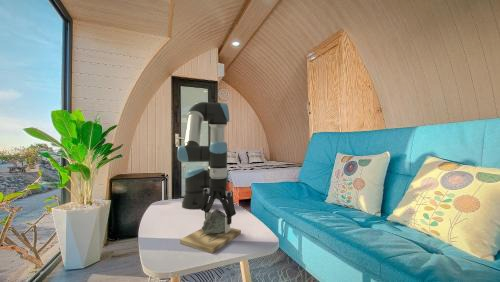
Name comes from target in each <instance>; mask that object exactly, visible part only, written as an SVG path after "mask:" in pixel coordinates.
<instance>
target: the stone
mask: <svg viewBox="0 0 500 282" xmlns="http://www.w3.org/2000/svg"><path fill="white" fill-rule="evenodd" d="M225 217H226V213H225V212H224V211H221V209H219V208H217V209H215V210H213V211H211V213H210V214H209V215H208V216H207V217H206V219H205V218H204V221H203V226H201V229H202V230H203V232H205V233H206V234H210V233H221V232H224V231H225Z"/></svg>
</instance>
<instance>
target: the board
mask: <svg viewBox="0 0 500 282" xmlns="http://www.w3.org/2000/svg"><path fill="white" fill-rule="evenodd" d="M240 233H242V230H241V229H238V228H234V227H230V231H229V232H227V233H225V231H224V232H221V233H210V234H206V233H205V232H203V230H202V228H200V229H198V230H196V231H194V232H192V233H189V234H188V235H186V236H184V237H182V238H180V239H179V244H180V243H181V244H180V245H183V246H186V247H190V248H194V249H197V250H200V251H203V252H206V253H209V254H213V253H215V252H217V251H218V250H219V249H221V248H222V247H224V246H225V245H226V244H228V243H230V242H231V241H232V240H233V239H235V238H236V237H238V236H239V235H241V234H240Z"/></svg>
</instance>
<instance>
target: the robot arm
mask: <svg viewBox="0 0 500 282" xmlns="http://www.w3.org/2000/svg"><path fill="white" fill-rule="evenodd" d="M229 110H230V109H229V106H228V104H227V103H226V102H225V103H224V102H213V101H211V102H208V101H200V102H197V103H196V104H194V105H192V106H191V107H190V109H189V110H187V111H188V112H187V113H186V121H187V123H186V131H185V134H184V141H183V144H182V145H178V147H177V154H176V155H177V160H178V161H179V162H182V163H196V162H197V163H200V162H202V163H206V162H207V163H208V162H209V166H207V169H206V168H205V167H195V168H190V169H187V170H186V171H185V175H184V181H185V183H184V195H183V199H182V202H181V208H184V209H188V210H189V209H190V210H192V209H193V210H195V209H200V208H201V209H200V210H201V211H203V212H204V220H205V219H206V217H207V216H208V215H209V214H210V213H212V211H211V210H212V209H211V208H212V206H213V205H214V202H215V200H218V201H219V202H220V203H221V205H222V208H223V210H224V211H223V212H224V213H225V215H226V217H225V233H227V232H229V231H230V228H231V224H232V220H233V219H232V217H234V216H236V214H237V213H236V207H235V203H234V197H233V195H234V192H233V191H232V190H231V191H228V190H227V186H228V182H229V181H228V179H229V170H228V150H229V149H228V142H226V141H225V128H226V126H228V123H230V112H229ZM203 122H207V125H208V126H209V127H210V144H209V145H201V130H202V123H203Z"/></svg>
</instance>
